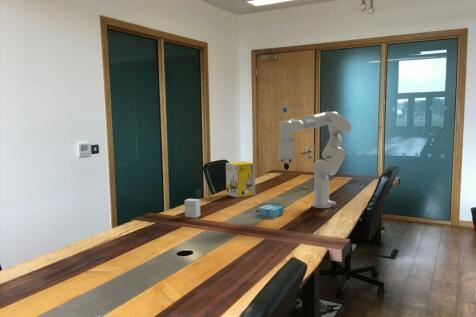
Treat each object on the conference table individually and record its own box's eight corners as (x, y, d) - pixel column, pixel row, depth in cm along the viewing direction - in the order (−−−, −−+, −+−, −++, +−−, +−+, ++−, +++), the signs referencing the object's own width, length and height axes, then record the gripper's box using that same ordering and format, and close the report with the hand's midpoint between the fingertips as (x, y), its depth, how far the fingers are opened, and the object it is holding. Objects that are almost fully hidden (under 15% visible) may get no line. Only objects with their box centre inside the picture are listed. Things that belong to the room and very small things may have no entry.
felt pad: (279, 213, 250) (279, 213, 250) (274, 219, 237) (274, 218, 237) (259, 212, 255) (259, 211, 255) (253, 217, 241) (253, 217, 241)
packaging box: (255, 195, 309) (255, 163, 306) (238, 197, 300) (237, 164, 297) (243, 191, 322) (242, 161, 319) (226, 194, 313) (225, 162, 310)
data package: (273, 210, 239) (257, 207, 246) (273, 217, 239) (257, 214, 247) (284, 206, 248) (268, 204, 256) (284, 213, 249) (268, 211, 256)
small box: (200, 215, 247) (200, 199, 246) (195, 218, 242) (195, 201, 241) (189, 214, 251) (189, 198, 250) (184, 216, 246) (184, 200, 245)
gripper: (298, 140, 250) (299, 168, 253) (275, 140, 254) (276, 168, 257) (297, 141, 243) (297, 170, 245) (273, 141, 247) (273, 170, 250)
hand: (286, 169), depth 251 cm, fingers closed
